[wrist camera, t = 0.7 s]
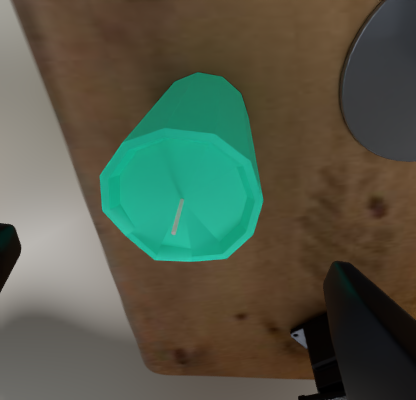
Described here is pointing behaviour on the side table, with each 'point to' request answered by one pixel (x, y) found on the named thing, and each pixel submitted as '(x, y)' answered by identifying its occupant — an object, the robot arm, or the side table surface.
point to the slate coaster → (383, 82)
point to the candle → (187, 174)
